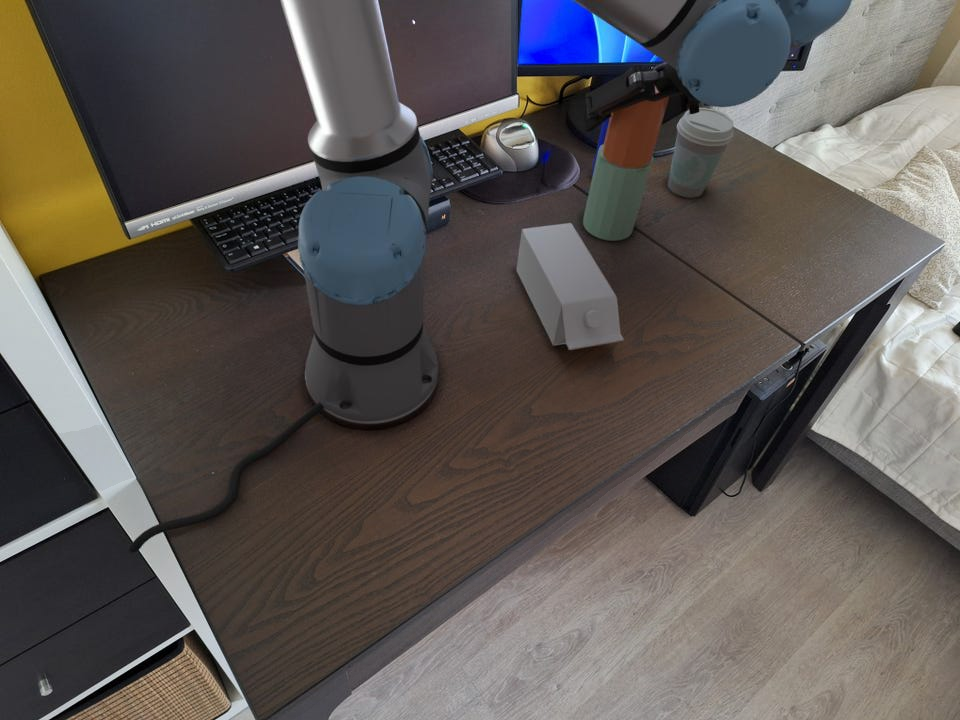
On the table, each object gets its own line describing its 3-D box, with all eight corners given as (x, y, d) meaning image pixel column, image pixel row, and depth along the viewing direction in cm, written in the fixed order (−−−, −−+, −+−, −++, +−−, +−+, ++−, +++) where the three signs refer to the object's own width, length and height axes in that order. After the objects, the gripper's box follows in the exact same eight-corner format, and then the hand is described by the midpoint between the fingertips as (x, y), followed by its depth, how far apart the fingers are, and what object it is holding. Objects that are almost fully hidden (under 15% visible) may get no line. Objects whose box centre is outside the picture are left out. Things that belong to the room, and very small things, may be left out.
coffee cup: (649, 179, 111) (669, 111, 102) (688, 168, 114) (711, 101, 105) (682, 207, 106) (706, 138, 97) (722, 195, 109) (749, 127, 100)
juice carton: (562, 263, 95) (617, 359, 83) (515, 269, 93) (564, 369, 81) (571, 221, 90) (630, 318, 78) (521, 228, 88) (574, 328, 76)
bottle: (600, 245, 98) (625, 147, 86) (573, 216, 103) (593, 119, 91) (642, 234, 101) (672, 137, 89) (614, 206, 105) (639, 110, 93)
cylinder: (620, 171, 90) (638, 100, 82) (593, 147, 94) (608, 77, 86) (659, 162, 92) (680, 92, 85) (632, 139, 96) (650, 70, 88)
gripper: (624, 96, 68) (549, 153, 90) (812, 82, 73) (699, 139, 95) (615, 21, 67) (541, 96, 89) (805, 12, 73) (692, 85, 94)
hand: (623, 118), depth 92 cm, fingers open, 10 cm apart
